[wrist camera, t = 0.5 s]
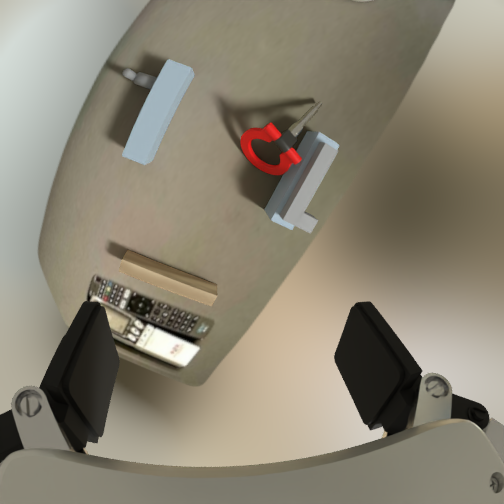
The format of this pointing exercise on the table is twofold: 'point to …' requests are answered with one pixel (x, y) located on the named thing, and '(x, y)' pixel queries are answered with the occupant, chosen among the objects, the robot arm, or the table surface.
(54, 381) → the robot arm
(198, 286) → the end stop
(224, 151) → the table surface
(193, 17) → the table surface
